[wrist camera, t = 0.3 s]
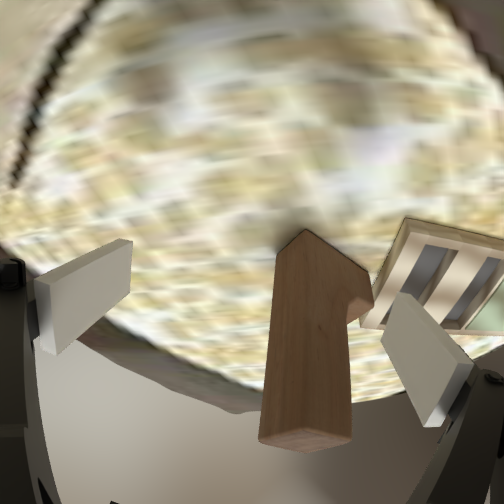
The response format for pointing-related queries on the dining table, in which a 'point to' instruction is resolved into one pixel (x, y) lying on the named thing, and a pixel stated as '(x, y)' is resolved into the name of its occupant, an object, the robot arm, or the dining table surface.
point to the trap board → (443, 279)
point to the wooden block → (311, 346)
